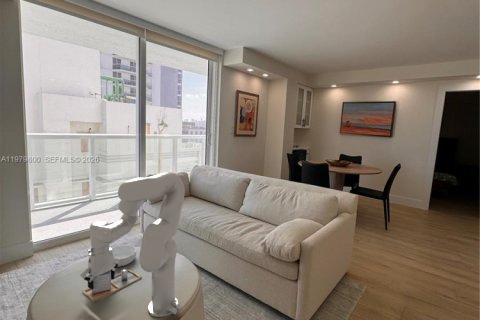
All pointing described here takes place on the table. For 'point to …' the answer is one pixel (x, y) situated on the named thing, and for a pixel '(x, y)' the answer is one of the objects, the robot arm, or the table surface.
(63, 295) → the table surface
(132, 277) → the board
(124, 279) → the peg
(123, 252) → the cereal bowl
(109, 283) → the medicine box
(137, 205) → the robot arm
